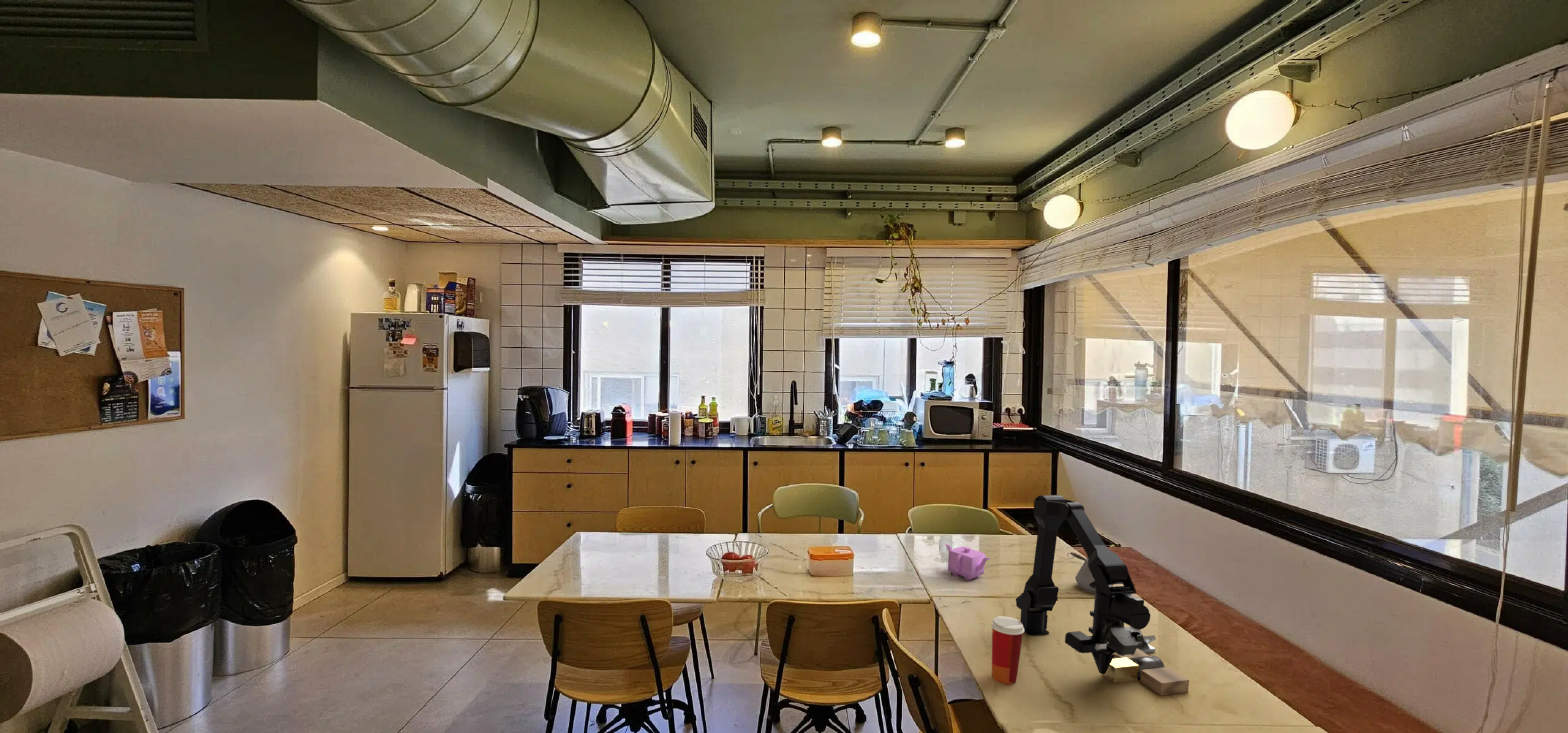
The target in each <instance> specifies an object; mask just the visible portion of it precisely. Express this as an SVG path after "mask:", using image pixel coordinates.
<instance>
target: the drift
mask: <svg viewBox="0 0 1568 733" xmlns="http://www.w3.org/2000/svg"><path fill="white" fill-rule="evenodd" d="M1138 669H1139V665H1138V664H1136V663H1134V662H1133V661H1131V660H1130V659H1128V658H1127V657H1125V658H1115V659H1112V661H1111V663H1110V665H1109V667H1108V669H1107V671H1106V673H1105V674H1101V675H1102V676H1103V677H1104V678H1106V679H1108V680H1109V682H1111V683H1112V684H1119V683H1127V682H1129V683H1130V682H1135V681H1138V679H1139V678H1138Z"/></svg>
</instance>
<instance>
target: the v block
mask: <svg viewBox="0 0 1568 733" xmlns="http://www.w3.org/2000/svg"><path fill="white" fill-rule="evenodd" d="M1128 627H1129V628H1131V629H1133V630H1134V631H1140V632H1141V633H1142V631H1141V630H1137V629H1134V628H1133V627H1131V626H1128ZM1143 638H1144V647H1142V648H1139V650H1141V651H1142V652H1144V653H1146V654H1149V653H1151V654H1152V653H1156V648H1155V647H1154V646H1152V645H1150V643H1152V642H1153V641H1156V636H1155V635H1143Z"/></svg>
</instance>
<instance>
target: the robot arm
mask: <svg viewBox="0 0 1568 733" xmlns="http://www.w3.org/2000/svg"><path fill="white" fill-rule="evenodd" d="M1033 516H1034V518H1035V521H1036V523H1037V524H1038V525H1037V526H1038V529H1037V536H1036V545H1035V552H1034V560H1033V561H1034V562H1033V568H1032V574H1031V575H1030V577H1029V578H1028V579H1027V580H1026V582H1025V585H1024V589H1023V592H1022V593H1021V594H1020V595H1019V596H1017V597H1016V598H1015V605H1016V607H1017V608H1018V609H1019V610H1020V620H1019V621H1020V622H1021V623H1022V625H1023V628H1024V633H1025V634H1026V635H1028V636H1030V637H1031V636H1042V635H1050V631H1048V630H1047V629H1048V617H1049V616H1048V614H1047V613H1048V612H1052V611H1053V610H1054V606H1055V605H1056V603H1057V602H1058V600H1059V599H1058V594H1059V590H1060V589H1059V587H1058V586H1057V585H1056V583H1055V582H1054V580H1053V569H1054V563H1055V562H1054V561H1055V555H1056V554H1055V553H1056V546H1057V539H1058V538H1057V537H1058V531H1059V528H1060V527H1061V526H1062V524H1063V523H1064V521H1067V524H1068V525H1069V526H1070V528H1071V530H1072V531H1073V533H1074V535H1075V536H1076V539H1077V540H1078V542H1079V544H1080V545H1081V547H1082V549H1083V551H1084V552H1085V554H1086V557H1087V556H1088V567H1089V569H1090V572H1091V574H1092V576H1093V578H1094V580H1095V581H1094V582H1092V583H1090V584H1089V586H1090V587H1092V588H1094V589H1095V593H1094V605H1093V610H1089V615H1090V616H1091V617H1092V626H1089V627H1088V632H1089V633H1091V635H1087V634H1085V633H1084V632H1082V631H1081V630H1076V631H1068V632H1067V633H1065V636H1064V643H1065V644H1066V645H1068V646H1069V647H1071V649H1073V650H1075V651H1076V652H1077V653H1080V654H1090V653H1091V655H1092V657H1093V660H1094V663H1095V665H1096V667H1097V671H1098V673H1099V674H1101V675H1102V674H1105V673H1106V671H1107V669H1108V667H1109V665H1110V663H1111V661H1112V659H1113V658H1114V656H1115V655H1116V654H1118V655H1120V656H1124V655H1129V654H1131V655H1134V653H1135V651H1136V649H1139V648H1142V647H1144V638H1143V636H1144V634H1143V633H1142V631H1141V630H1143V629H1145V628H1146V627H1147V626H1148V624H1149V623H1150V620H1151V613H1150V609H1149V608H1148V606H1146V605H1145V601H1144V600H1145V599H1142V598H1140V597H1138V596H1135V595H1136V594H1137V590H1136V587H1135V584H1134V582H1133V579H1132V578H1131V575H1130V573H1129V572H1130V571H1129V569H1128V566H1127V565H1126V563H1125V562H1124V561H1123V560H1122V559H1121V557H1120V556H1119V555H1118V554H1117V553H1116V552H1114V551H1112V550H1111V549H1109V548H1108V547H1107V545H1106V543H1104V541H1103V539H1102V537H1101V536H1100V534H1099V532H1098V531H1097V530H1096V528H1095V526H1094V525H1093V523H1092V521H1091V520H1090V518H1089V516H1088V515H1087V513H1086V512H1085V507H1084V505H1083V504H1082V503H1081V502H1077V501H1074V500H1071V499H1067V498H1066V499H1065V497H1064V496H1063V495H1060V494H1045V495H1044V494H1043V495H1041V494H1040V495H1038V496H1037V497H1035V499H1034V502H1033ZM1110 585H1113V586H1110ZM1114 585H1117V586H1114ZM1118 585H1119V586H1118ZM1125 624H1126V625H1128V626H1125ZM1129 627H1133V628H1134V629H1137V630H1140V631H1141V632H1140V631H1134V630H1133V629H1131V628H1129Z"/></svg>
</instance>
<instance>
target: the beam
mask: <svg viewBox="0 0 1568 733" xmlns="http://www.w3.org/2000/svg"><path fill="white" fill-rule="evenodd" d="M1125 657H1127V658H1128V659H1132V658H1141V657H1150V655H1149V654H1148V653H1144V652H1142V651H1141V650H1139V649H1136V651H1135V653H1134V655H1131V654H1129V655H1124V656H1120V655H1118V654H1116V655H1115V656H1114V658H1113V659H1115V658H1125ZM1140 683H1142V684H1143V685H1144V686H1146V687H1147V688H1149V689H1150V690H1152V691H1154V693H1156V694H1158V695H1159V696H1167V695H1174V694H1175V695H1177V694H1183V693H1184V694H1185V693H1189V685H1190V684H1189V683H1190V680H1189V678H1188V677H1185V676H1184V675H1181V674H1180V673H1179V672H1177V671H1175V670H1173V669H1172V668H1170V667H1169V666H1166V667H1165V666H1164V667H1163V668H1154V669H1145V670H1141V677H1140Z"/></svg>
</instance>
